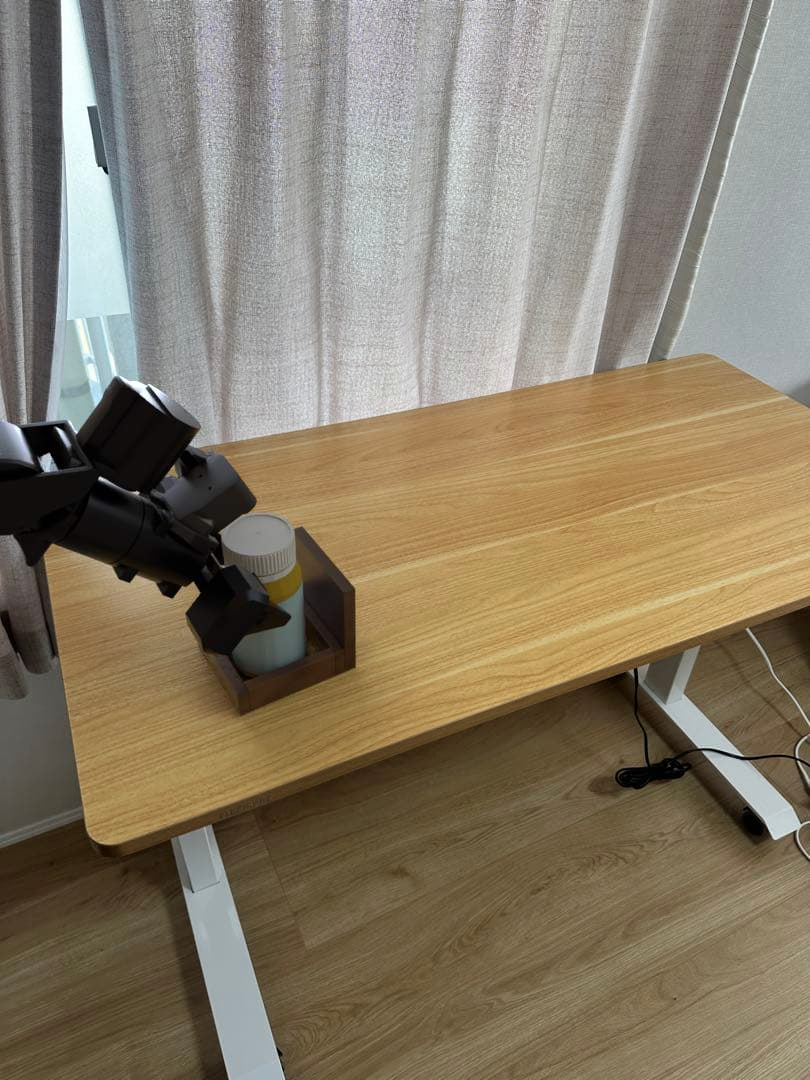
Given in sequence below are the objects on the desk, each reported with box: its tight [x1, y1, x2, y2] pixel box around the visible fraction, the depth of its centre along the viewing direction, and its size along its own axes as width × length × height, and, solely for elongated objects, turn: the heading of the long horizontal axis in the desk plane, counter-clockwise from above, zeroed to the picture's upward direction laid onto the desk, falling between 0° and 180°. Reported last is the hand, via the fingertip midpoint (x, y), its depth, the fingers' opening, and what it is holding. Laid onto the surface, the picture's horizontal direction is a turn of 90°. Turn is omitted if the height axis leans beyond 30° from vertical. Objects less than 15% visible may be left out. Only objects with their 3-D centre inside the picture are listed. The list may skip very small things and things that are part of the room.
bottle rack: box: [199, 525, 357, 717], centre depth 75 cm, size 12×11×10 cm
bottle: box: [221, 512, 307, 679], centre depth 73 cm, size 7×7×15 cm
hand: (265, 589), depth 72 cm, fingers open, 9 cm apart
